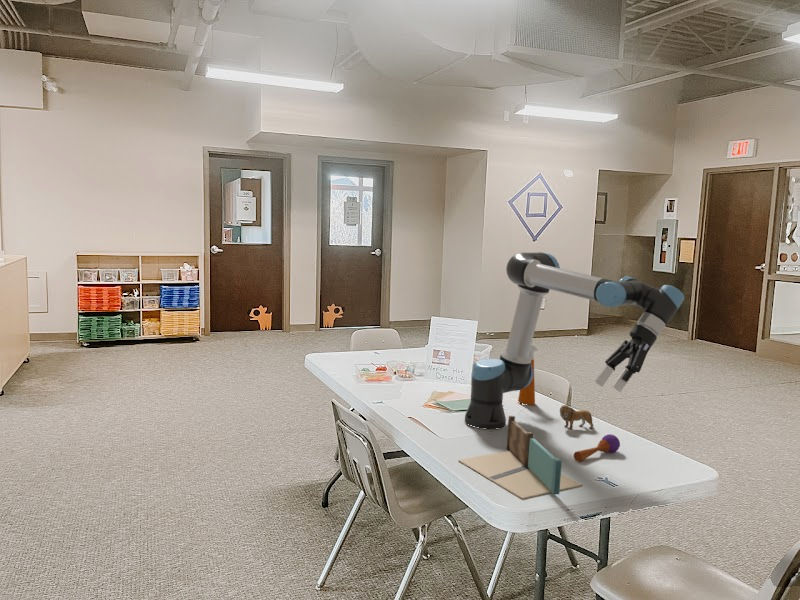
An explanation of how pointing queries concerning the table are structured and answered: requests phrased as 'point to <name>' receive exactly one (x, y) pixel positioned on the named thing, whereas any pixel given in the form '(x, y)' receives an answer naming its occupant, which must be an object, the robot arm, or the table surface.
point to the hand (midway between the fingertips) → (607, 386)
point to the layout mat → (513, 474)
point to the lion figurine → (575, 416)
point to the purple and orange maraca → (599, 447)
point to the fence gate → (545, 466)
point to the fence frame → (518, 440)
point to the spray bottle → (529, 392)
